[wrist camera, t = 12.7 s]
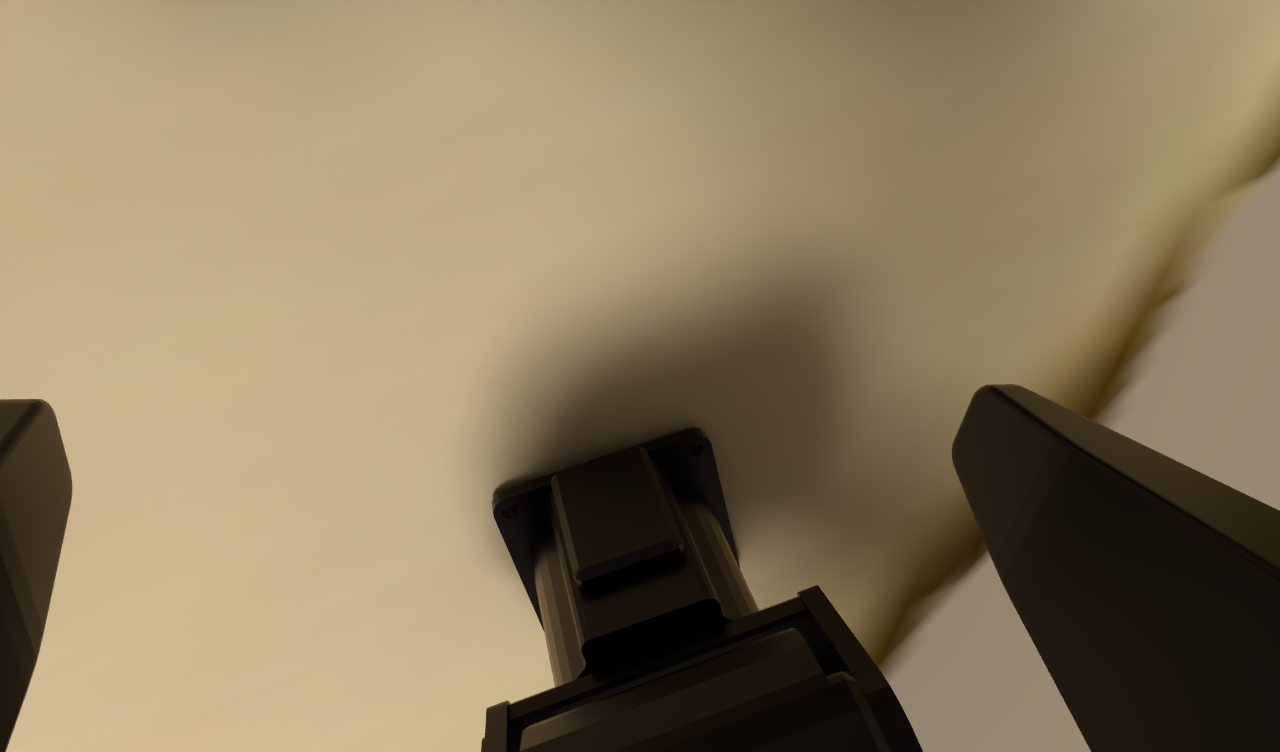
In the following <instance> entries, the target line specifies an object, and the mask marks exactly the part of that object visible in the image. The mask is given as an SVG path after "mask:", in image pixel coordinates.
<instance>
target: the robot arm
mask: <svg viewBox="0 0 1280 752" xmlns="http://www.w3.org/2000/svg"><path fill="white" fill-rule="evenodd" d="M692 443H699V444H698V445H697V446H696V447H694V448H692V449H687V448H688V446H689V445H691V444H692ZM952 460H953V464H954V467H955V470H956V472H957V475H958V477H959V480H960V482H961V485H962V487H963V489H964V492H965V494H966V497H967V499H968V502H969V504H970V507H971V509H972V512H973V514H974V516H975V519H976V521H977V524H978V526H979V529H980V531H981V534H982V536H983V539H984V541H985V543H986V546H987V548H988V551H989V553H990V556H991V558H992V561H993V563H994V565H995V567H996V570H997V572H998V574H999V577H1000V579H1001V581H1002V583H1003V585H1004V587H1005V589H1006V591H1007V593H1008V595H1009V597H1010V599H1011V601H1012V603H1013V605H1014V607H1015V609H1016V611H1017V612H1018V614H1019V616H1020V618H1021V620H1022V622H1023V624H1024V626H1025V628H1026V629H1027V631H1028V633H1029V635H1030V637H1031V639H1032V641H1033V643H1034V644H1035V646H1036V648H1037V650H1038V652H1039V654H1040V656H1041V658H1042V660H1043V661H1044V663H1045V665H1046V667H1047V669H1048V671H1049V673H1050V674H1051V677H1052V678H1053V680H1054V682H1055V684H1056V686H1057V688H1058V690H1059V692H1060V693H1061V695H1062V697H1063V699H1064V701H1065V703H1066V705H1067V707H1068V709H1069V711H1070V712H1071V714H1072V716H1073V718H1074V720H1075V722H1076V724H1077V726H1078V728H1079V729H1080V731H1081V733H1082V735H1083V737H1084V739H1085V741H1086V743H1087V744H1088V746H1089V748H1090V750H1091V752H1280V511H1279V510H1277V509H1275V508H1272V507H1271V506H1269V505H1267V504H1264V503H1262V502H1260V501H1258V500H1256V499H1254V498H1252V497H1250V496H1248V495H1246V494H1244V493H1241V492H1240V491H1238V490H1235V489H1233V488H1231V487H1229V486H1227V485H1225V484H1223V483H1221V482H1219V481H1217V480H1215V479H1212V478H1210V477H1209V476H1207V475H1204V474H1202V473H1200V472H1198V471H1196V470H1194V469H1192V468H1190V467H1188V466H1186V465H1184V464H1182V463H1179V462H1177V461H1175V460H1173V459H1171V458H1169V457H1167V456H1165V455H1163V454H1161V453H1159V452H1157V451H1155V450H1153V449H1151V448H1148V447H1146V446H1144V445H1142V444H1140V443H1138V442H1136V441H1134V440H1132V439H1130V438H1128V437H1126V436H1124V435H1121V434H1119V433H1117V432H1115V431H1113V430H1111V429H1109V428H1107V427H1105V426H1103V425H1101V424H1099V423H1097V422H1094V421H1092V420H1090V419H1088V418H1086V417H1084V416H1082V415H1080V414H1078V413H1076V412H1074V411H1072V410H1070V409H1068V408H1065V407H1063V406H1061V405H1059V404H1057V403H1055V402H1053V401H1051V400H1049V399H1047V398H1045V397H1043V396H1041V395H1038V394H1036V393H1034V392H1032V391H1030V390H1028V389H1026V388H1024V387H1022V386H1019V385H1014V384H1002V385H985V386H983V387H980V388H979V389H978V390H977V391H976V392H975V394H974V395H973V397H972V399H971V402H970V404H969V406H968V409H967V411H966V413H965V416H964V418H963V420H962V423H961V425H960V427H959V430H958V432H957V434H956V437H955V439H954V442H953V446H952ZM71 500H72V477H71V472H70V468H69V464H68V460H67V456H66V453H65V449H64V445H63V441H62V438H61V434H60V430H59V427H58V423H57V419H56V416H55V413H54V411H53V409H52V407H51V406H50V404H49V403H47V402H46V401H44V400H42V399H1V400H0V752H6V749H7V747H8V744H9V741H10V738H11V735H12V732H13V730H14V727H15V724H16V721H17V718H18V715H19V713H20V710H21V707H22V704H23V701H24V698H25V696H26V693H27V690H28V687H29V684H30V681H31V678H32V675H33V671H34V668H35V665H36V662H37V659H38V655H39V650H40V646H41V642H42V638H43V634H44V629H45V624H46V619H47V615H48V610H49V605H50V600H51V596H52V591H53V586H54V581H55V577H56V572H57V567H58V562H59V558H60V553H61V548H62V543H63V539H64V534H65V529H66V524H67V520H68V515H69V510H70V505H71ZM512 504H513V505H517V506H516V507H515V508H513V509H508V510H507V509H504V507H506V506H507V505H512ZM492 508H493V514H494V518H495V521H496V523H497V525H498V528H499V530H500V532H501V534H502V537H503V539H504V541H505V544H506V546H507V548H508V550H509V553H510V555H511V557H512V559H513V562H514V564H515V566H516V569H517V571H518V573H519V575H520V578H521V580H522V582H523V584H524V587H525V589H526V591H527V594H528V596H529V598H530V600H531V603H532V605H533V607H534V610H535V612H536V614H537V616H538V619H539V621H540V623H541V625H542V628H543V630H544V632H545V637H546V642H547V647H548V653H549V658H550V663H551V668H552V673H553V679H554V684H555V687H554V688H551V689H549V690H546V691H543V692H541V693H538V694H535V695H533V696H530V697H527V698H524V699H522V700H519V701H516V702H514V703H511V704H510V702H509V701H505V702H502V703H500V704H497V705H494V706H492V707H489V708H487V712H486V729H485V738H483V739H482V748H481V752H923V751H922V748H921V746H920V744H919V742H918V740H917V737H916V735H915V733H914V731H913V728H912V726H911V724H910V722H909V720H908V718H907V716H906V714H905V712H904V710H903V709H902V706H901V704H900V703H899V701H898V699H897V697H896V695H895V694H894V692H893V690H892V688H891V687H890V685H889V683H888V682H887V680H886V679H885V677H884V676H883V674H882V673H881V671H880V670H879V669H878V667H877V666H876V664H875V663H874V662H873V660H872V659H871V658H870V656H869V655H868V654H867V652H866V651H865V649H864V648H863V647H862V645H861V644H860V643H859V641H858V640H857V638H856V637H855V636H854V634H853V633H852V632H851V630H850V629H849V627H848V626H847V625H846V623H845V622H844V621H843V619H842V618H841V616H840V615H839V614H838V612H837V611H836V610H835V608H834V607H833V605H832V604H831V603H830V601H829V600H828V599H827V597H826V596H825V594H824V593H823V592H822V590H821V589H820V588H819V586H818V585H816V586H813V587H811V588H808V589H805V590H803V591H800V592H798V593H797V594H798V597H795V598H793V599H790V600H787V601H784V602H782V603H779V604H776V605H774V606H771V607H768V608H766V609H763V610H760V611H759V609H758V607H757V605H756V603H755V601H754V598H753V596H752V594H751V592H750V590H749V588H748V585H747V583H746V581H745V579H744V577H743V575H742V572H741V570H740V566H739V562H738V557H737V553H736V549H735V544H734V540H733V536H732V531H731V527H730V523H729V518H728V514H727V510H726V505H725V501H724V497H723V492H722V488H721V484H720V479H719V475H718V471H717V466H716V462H715V458H714V453H713V449H712V445H711V443H710V441H709V439H708V437H707V435H706V433H705V431H703V430H702V429H700V428H689V429H685V430H682V431H679V432H676V433H673V434H670V435H667V436H664V437H661V438H658V439H655V440H652V441H649V442H646V443H643V444H640V445H637V446H634V447H631V448H628V449H625V450H622V451H619V452H616V453H613V454H610V455H607V456H604V457H601V458H598V459H595V460H592V461H589V462H586V463H583V464H580V465H577V466H574V467H571V468H568V469H565V470H562V471H559V472H556V473H553V474H550V475H547V476H544V477H541V478H538V479H535V480H532V481H529V482H526V483H523V484H520V485H517V486H514V487H511V488H508V489H505V490H503V491H501V492H499V493H497V495H496V496H495V497H494V498H493V501H492Z"/></svg>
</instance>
